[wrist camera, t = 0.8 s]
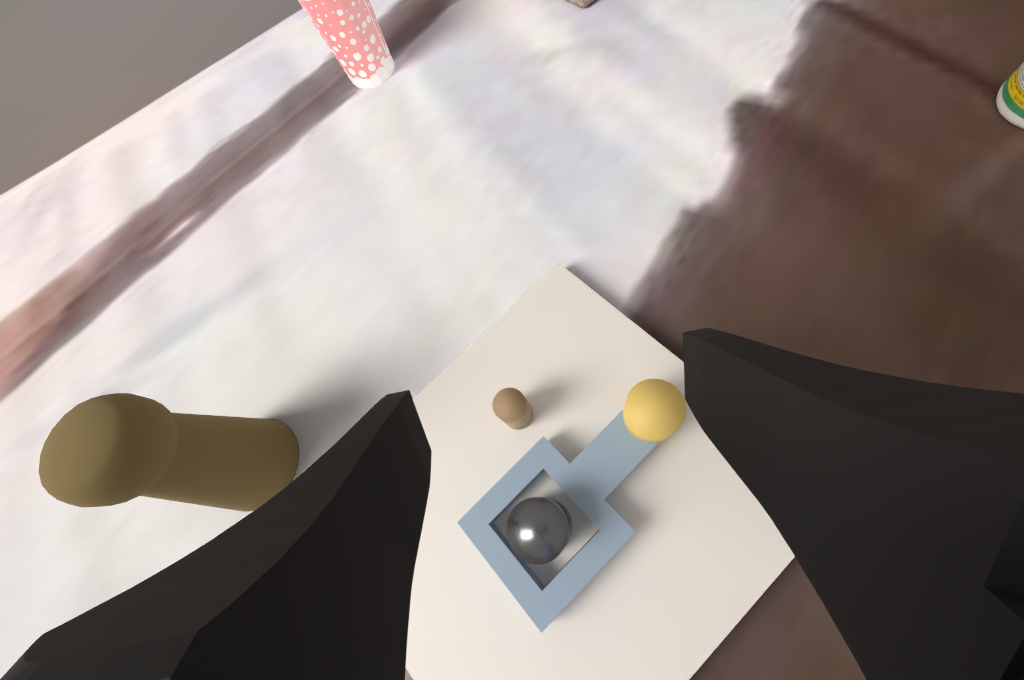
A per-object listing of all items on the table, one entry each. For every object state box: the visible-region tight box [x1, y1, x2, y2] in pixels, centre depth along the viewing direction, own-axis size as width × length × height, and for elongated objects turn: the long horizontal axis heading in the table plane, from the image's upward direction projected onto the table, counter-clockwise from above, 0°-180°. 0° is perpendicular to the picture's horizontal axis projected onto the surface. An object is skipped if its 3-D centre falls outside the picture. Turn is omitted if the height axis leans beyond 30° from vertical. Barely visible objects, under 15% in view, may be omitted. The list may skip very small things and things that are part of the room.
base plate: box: [405, 263, 795, 680], centre depth 23 cm, size 20×22×1 cm
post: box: [506, 497, 572, 565], centre depth 21 cm, size 3×3×5 cm
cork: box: [39, 393, 299, 511], centre depth 23 cm, size 6×6×11 cm
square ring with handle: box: [457, 379, 687, 633], centre depth 21 cm, size 13×6×3 cm, turn 133°
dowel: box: [492, 388, 534, 430], centre depth 24 cm, size 2×2×4 cm
